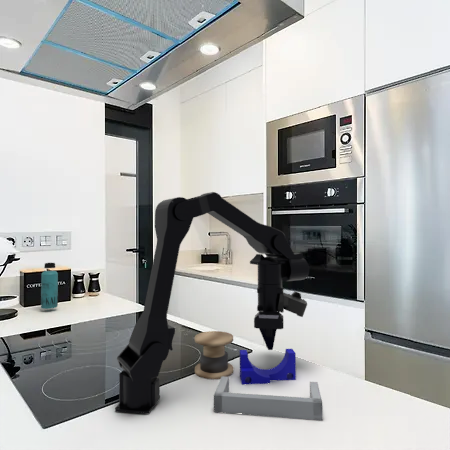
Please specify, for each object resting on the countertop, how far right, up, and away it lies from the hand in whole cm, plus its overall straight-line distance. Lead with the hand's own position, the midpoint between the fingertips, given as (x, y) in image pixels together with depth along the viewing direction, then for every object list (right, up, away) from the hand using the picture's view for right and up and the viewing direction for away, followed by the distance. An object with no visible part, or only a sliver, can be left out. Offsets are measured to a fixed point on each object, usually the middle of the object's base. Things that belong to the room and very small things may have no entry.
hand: (270, 349), depth 84 cm
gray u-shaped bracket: (-3, -4, -17) cm, 18 cm away
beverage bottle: (-84, -7, +64) cm, 106 cm away
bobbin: (-13, -5, -1) cm, 14 cm away
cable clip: (-1, -5, -6) cm, 8 cm away
